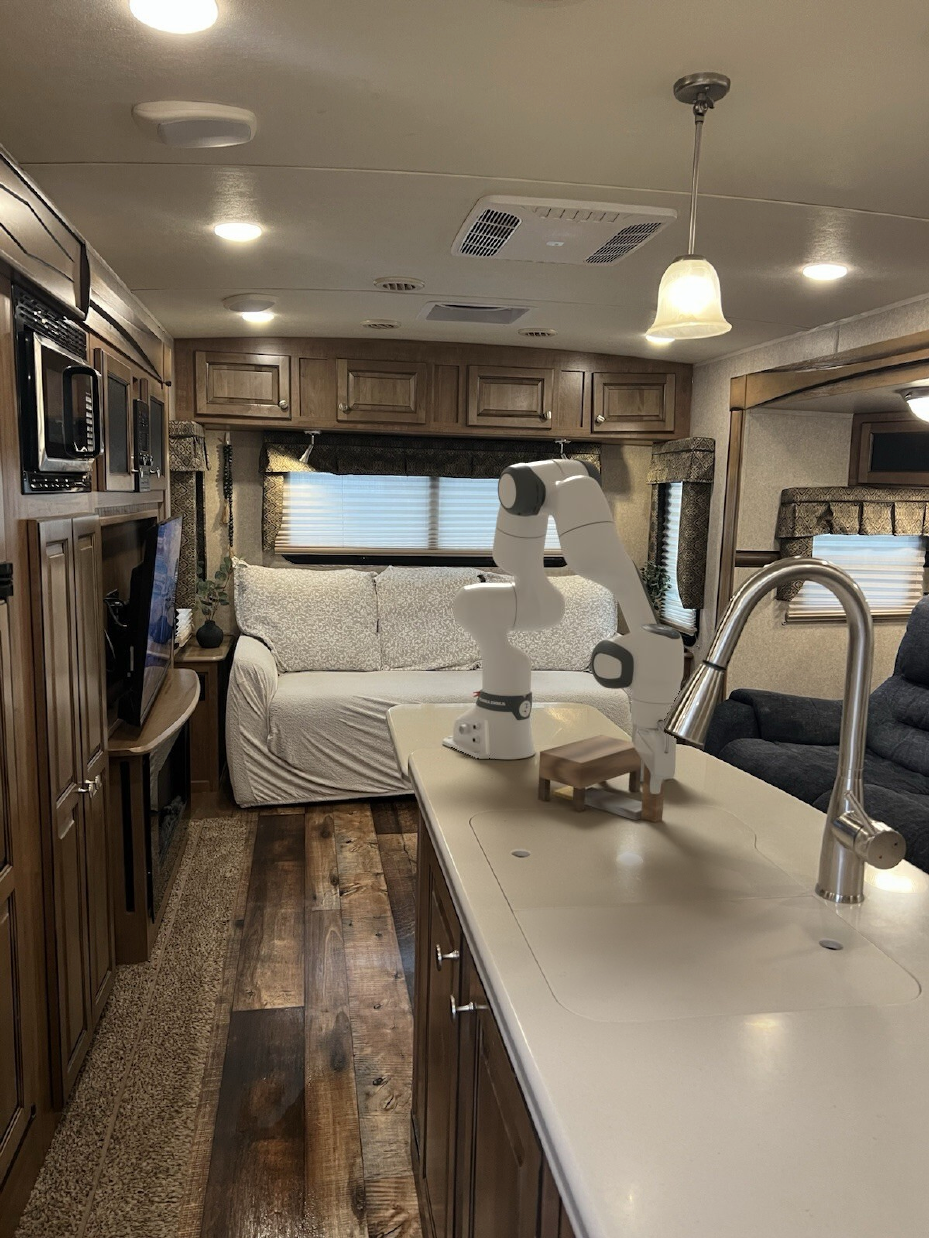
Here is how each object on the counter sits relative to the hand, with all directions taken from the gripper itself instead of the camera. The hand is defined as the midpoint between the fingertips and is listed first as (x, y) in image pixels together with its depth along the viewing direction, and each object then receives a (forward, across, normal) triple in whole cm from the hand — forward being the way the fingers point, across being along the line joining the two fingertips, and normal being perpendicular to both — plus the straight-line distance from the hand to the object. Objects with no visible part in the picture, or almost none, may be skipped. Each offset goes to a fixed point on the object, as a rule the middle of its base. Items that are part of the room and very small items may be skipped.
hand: (651, 787), depth 168 cm
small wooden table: (+6, +13, +9) cm, 17 cm away
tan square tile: (+6, +13, +13) cm, 19 cm away
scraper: (+6, +5, +5) cm, 9 cm away
